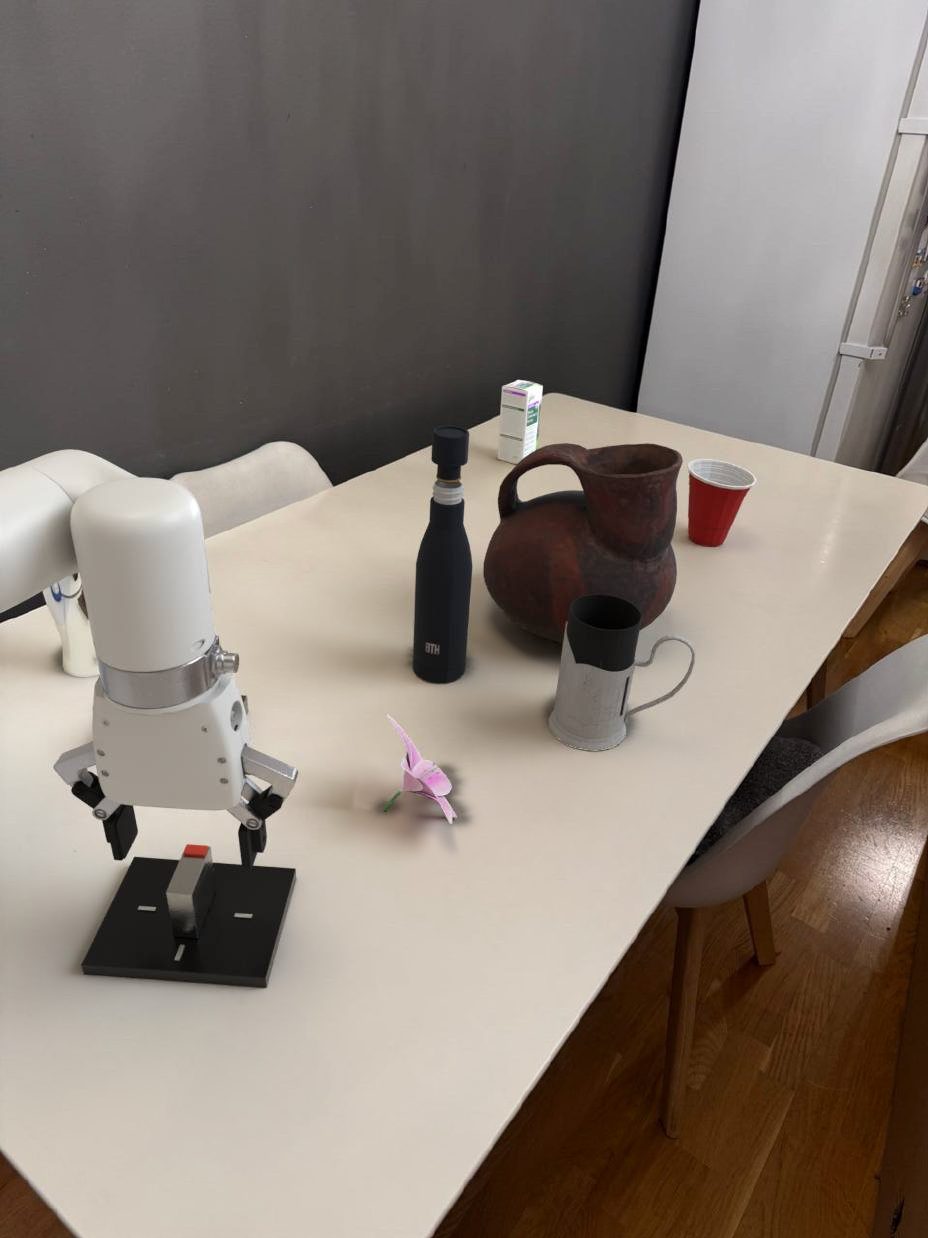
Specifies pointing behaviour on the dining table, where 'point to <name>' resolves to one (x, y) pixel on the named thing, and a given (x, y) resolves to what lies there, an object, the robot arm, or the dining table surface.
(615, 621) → the glass holder
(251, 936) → the panel
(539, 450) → the jug
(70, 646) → the beer glass
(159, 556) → the robot arm
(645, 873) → the dining table surface
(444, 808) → the lily
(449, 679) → the black insulated flask
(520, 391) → the syrup box
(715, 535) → the plastic cup
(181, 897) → the hob knob
